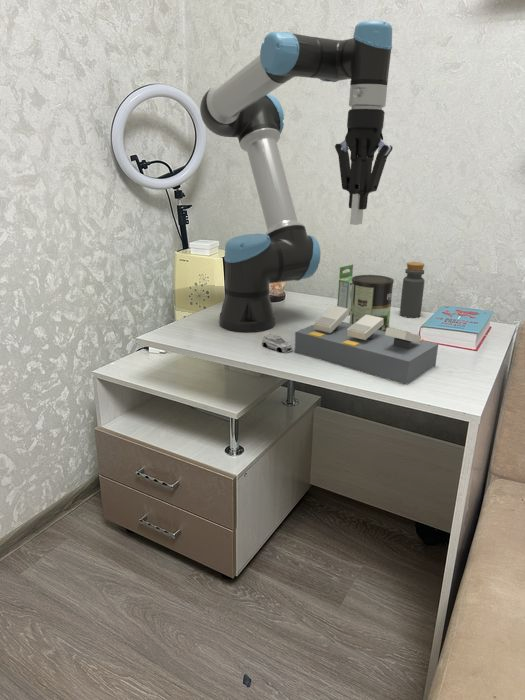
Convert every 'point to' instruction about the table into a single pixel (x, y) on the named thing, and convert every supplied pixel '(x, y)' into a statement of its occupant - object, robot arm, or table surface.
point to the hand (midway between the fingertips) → (356, 223)
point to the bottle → (412, 290)
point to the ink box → (345, 288)
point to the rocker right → (402, 335)
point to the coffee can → (371, 298)
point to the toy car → (276, 343)
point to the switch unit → (369, 352)
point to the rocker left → (331, 319)
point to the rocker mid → (365, 327)
